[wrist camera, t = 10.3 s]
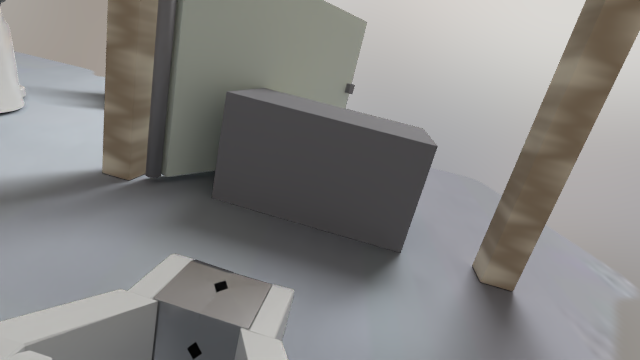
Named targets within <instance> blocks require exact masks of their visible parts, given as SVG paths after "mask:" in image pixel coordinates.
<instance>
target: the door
mask: <svg viewBox="0 0 640 360" xmlns="http://www.w3.org/2000/svg"><path fill="white" fill-rule="evenodd" d="M366 25H367V22H366V21H364V20H362V19H360V18H358V17H356V16H354V15H352V14H350V13H348V12H346V11H344V10H342V9H340V8H338V7H336V6H334V5H332V4H330V3H327V2H326V1H324V0H158V12H157V25H156V38H155V52H154V65H153V78H152V92H151V105H150V118H149V132H148V145H147V158H146V172H145V175H146V176H147V177H151V178H158V177H161V174H162V175H164V176H166V177H171V176H179V175H186V174H194V173H201V172H208V171H215V170H216V162H217V155H218V148H219V141H220V134H221V127H222V120H223V113H224V106H225V99H226V92H227V91H238V90H248V89H259V88H267V89H271V90H274V91H278V92H282V93H286V94H290V95H294V96H298V97H302V98H306V99H310V100H314V101H317V102H321V103H325V104H329V105H333V106H337V107H341V108H346V104H347V100H348V96H349V94H352V93H353V89H354V86H355V85H353V84H352V80H353V76H354V72H355V68H356V64H357V60H358V57H359V53H360V49H361V44H362V41H363V37H364V33H365V29H366Z"/></svg>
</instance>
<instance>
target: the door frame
mask: <svg viewBox="0 0 640 360" xmlns="http://www.w3.org/2000/svg"><path fill="white" fill-rule="evenodd" d="M157 12H158V0H108V15H107V16H108V17H107V47H106V76H105V106H104V136H103V166H102V173H105V174H108V175H112V176H115V177H119V178H122V179H126V180H132V179H134V178H136V177H139V176H141V175H144V174H145V172H146V158H147V145H148V132H149V118H150V105H151V92H152V78H153V65H154V52H155V38H156V25H157ZM639 31H640V0H586V2H585V4H584V6H583V9H582V11H581V13H580V16H579V18H578V20H577V23H576V25H575V27H574V30H573V32H572V34H571V37H570V39H569V41H568V44H567V46H566V48H565V51H564V53H563V55H562V58H561V60H560V62H559V64H558V67H557V69H556V71H555V74H554V76H553V79H552V81H551V84H550V85H549V88H548V90H547V92H546V95H545V97H544V99H543V102H542V104H541V106H540V109H539V111H538V114H537V116H536V118H535V121H534V123H533V125H532V127H531V130H530V132H529V135H528V137H527V139H526V141H525V144H524V146H523V148H522V151H521V153H520V155H519V158H518V160H517V162H516V165H515V167H514V170H513V172H512V174H511V176H510V179H509V181H508V183H507V186H506V188H505V190H504V193H503V195H502V197H501V200H500V202H499V204H498V207H497V209H496V211H495V214H494V216H493V218H492V221H491V223H490V225H489V228H488V230H487V232H486V235H485V237H484V239H483V242H482V244H481V246H480V249H479V251H478V253H477V256H476V258H475V260H474V263H473V265H472V266H473V268H474V270H475V272H476V274H477V276H478V278H479V280H480V282H482V283H485V284H489V285H492V286H496V287H499V288H503V289H506V290H510V291H513V290H514V288H515V286H516V284H517V282H518V280H519V278H520V276H521V274H522V272H523V270H524V268H525V265H526V263H527V261H528V259H529V257H530V255H531V253H532V251H533V249H534V247H535V245H536V243H537V241H538V239H539V237H540V235H541V232H542V230H543V228H544V226H545V224H546V222H547V220H548V218H549V216H550V214H551V212H552V210H553V208H554V206H555V204H556V202H557V199H558V197H559V195H560V193H561V191H562V189H563V187H564V185H565V183H566V181H567V179H568V177H569V175H570V173H571V171H572V169H573V167H574V164H575V162H576V160H577V158H578V156H579V154H580V152H581V150H582V148H583V146H584V144H585V142H586V140H587V138H588V135H589V134H590V131H591V129H592V127H593V125H594V123H595V121H596V119H597V117H598V115H599V113H600V111H601V109H602V107H603V105H604V103H605V101H606V99H607V96H608V94H609V92H610V90H611V88H612V86H613V84H614V82H615V80H616V78H617V76H618V74H619V72H620V69H621V68H622V66H623V63H624V61H625V59H626V57H627V55H628V53H629V51H630V49H631V47H632V45H633V43H634V41H635V39H636V37H637V35H638V33H639Z"/></svg>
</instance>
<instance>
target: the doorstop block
mask: <svg viewBox="0 0 640 360" xmlns="http://www.w3.org/2000/svg"><path fill="white" fill-rule="evenodd" d="M436 149H437V145H436V144H435V143H434V141H433V140H432V139H431V138H430V136H429V135H428V134H427V133H426V132H425V130H424V129H423V128H419V127H415V126H411V125H407V124H403V123H399V122H396V121H392V120H388V119H383V118H380V117H376V116H372V115H368V114H364V113H360V112H356V111H353V110H349V109H345V108H341V107H337V106H333V105H329V104H325V103H321V102H317V101H314V100H310V99H306V98H302V97H298V96H294V95H290V94H286V93H282V92H278V91H274V90H271V89H267V88H259V89H248V90H238V91H227V92H226V99H225V106H224V113H223V120H222V127H221V134H220V141H219V148H218V155H217V162H216V170H215V177H214V184H213V191H212V198H213V199H216V200H220V201H223V202H226V203H230V204H233V205H237V206H240V207H244V208H247V209H251V210H254V211H257V212H261V213H264V214H268V215H271V216H275V217H278V218H282V219H285V220H289V221H292V222H295V223H299V224H302V225H306V226H309V227H313V228H316V229H320V230H323V231H326V232H330V233H333V234H337V235H340V236H344V237H347V238H351V239H354V240H357V241H361V242H364V243H368V244H371V245H375V246H378V247H382V248H385V249H389V250H392V251H395V252H399V253H401V250H402V247H403V244H404V241H405V239H406V236H407V233H408V230H409V227H410V224H411V221H412V218H413V216H414V213H415V210H416V207H417V204H418V201H419V198H420V195H421V193H422V190H423V187H424V184H425V181H426V178H427V175H428V172H429V170H430V167H431V164H432V161H433V158H434V155H435V152H436Z"/></svg>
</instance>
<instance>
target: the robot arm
mask: <svg viewBox="0 0 640 360" xmlns="http://www.w3.org/2000/svg"><path fill="white" fill-rule="evenodd" d="M4 1H5V0H0V113H3V112H10V111H14V110H18V109H20V108H22V107H24V105H25V103H24V100H23V97H25V96H26V91H25V87H24V86H21V85H19V79H18V73H17V67H16V61H15V55H14V49H13V43H12V38H11V33H10V28H9V26H8V24H7V22H6V21H5V19H4V17H3V15H2V11H1V2H4ZM293 298H294V290H293V289H290V288H286V287H282V286H279V285H275V284H274V285H273V284H269V283H266V282H263V281H259V280H256V279H253V278H249V277H246V276H243V275H239V274H236V273H234V272H231V271H228V270H225V269H222V268H219V267H216V266H213V265H210V264H207V263H204V262H201V261H198V260H194V259H192V258H189V257H186V256H182V255H179V254H171V255H169V256H168V257H167V258H166V259H165V260H163V261H162V262H161V263H160V264H159V265H157V266H156V267H155V268H154V269H153V270H152V271H150V272H149V273H148V274H147V275H146V276H144V277H143V278H142V279H141V280H140V281H138V282H137V283H136V284H135V285H134V286H132V287H131V288H130V289H129V290H128V291H126V290H123V289H119V290H115V291H111V292H107V293H104V294H100V295H96V296H93V297H89V298H85V299H82V300H78V301H74V302H70V303H67V304H63V305H59V306H56V307H52V308H48V309H44V310H41V311H37V312H33V313H30V314H26V315H22V316H19V317H15V318H11V319H7V320H4V321H0V360H288V357H287V354H286V352H285V349H284V346H283V343H282V340H283V336H284V333H285V329H286V325H287V321H288V317H289V313H290V309H291V305H292V302H293Z"/></svg>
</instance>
